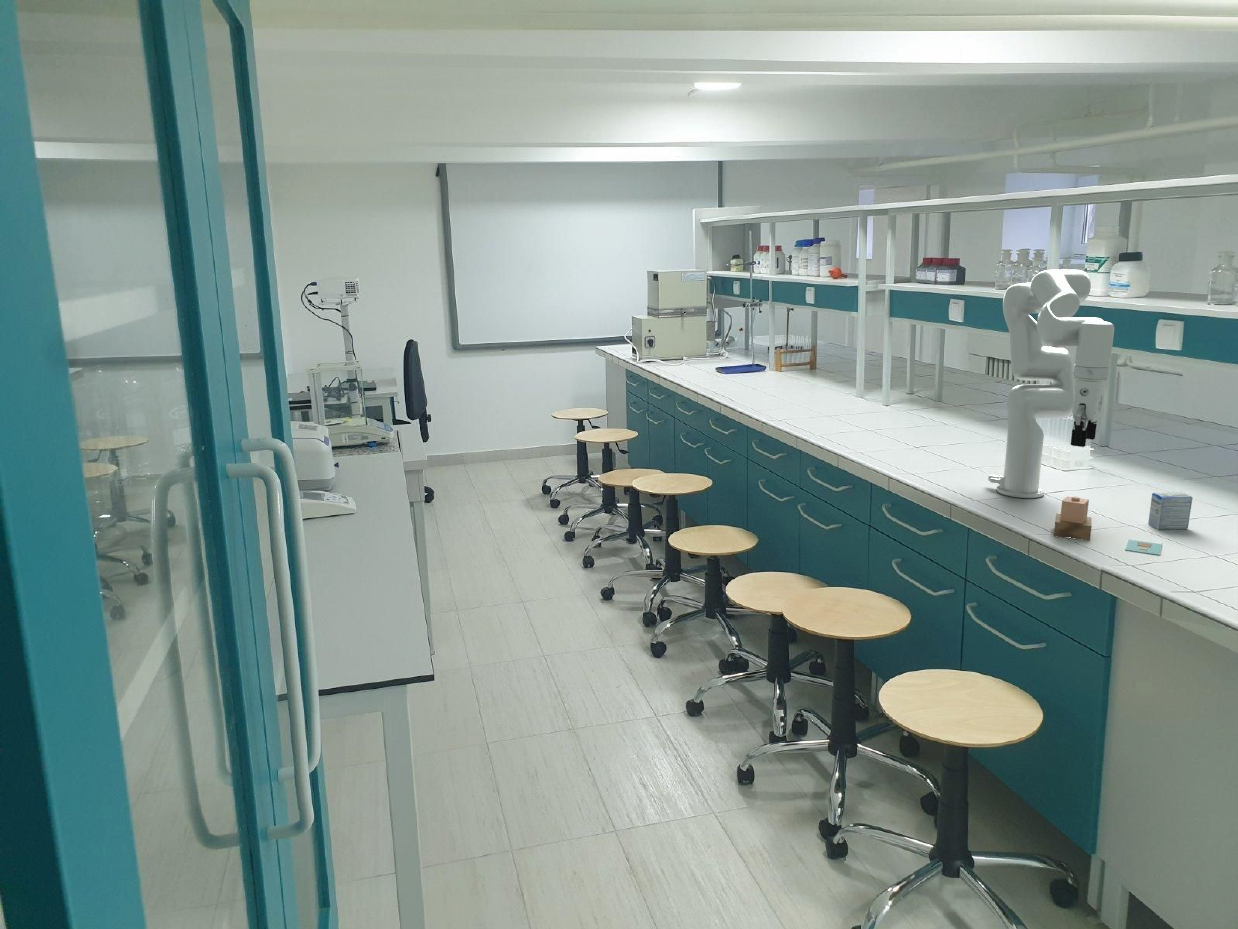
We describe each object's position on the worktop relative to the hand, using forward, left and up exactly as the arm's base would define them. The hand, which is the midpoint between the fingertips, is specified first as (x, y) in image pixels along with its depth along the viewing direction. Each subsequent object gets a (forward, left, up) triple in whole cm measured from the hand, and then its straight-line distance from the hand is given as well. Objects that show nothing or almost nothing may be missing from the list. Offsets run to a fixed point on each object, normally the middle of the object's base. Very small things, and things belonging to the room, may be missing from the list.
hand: (1082, 442), depth 224 cm
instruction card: (+16, -4, -23) cm, 28 cm away
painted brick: (0, -2, -19) cm, 19 cm away
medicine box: (+18, +18, -23) cm, 35 cm away
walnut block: (0, -2, -23) cm, 23 cm away
